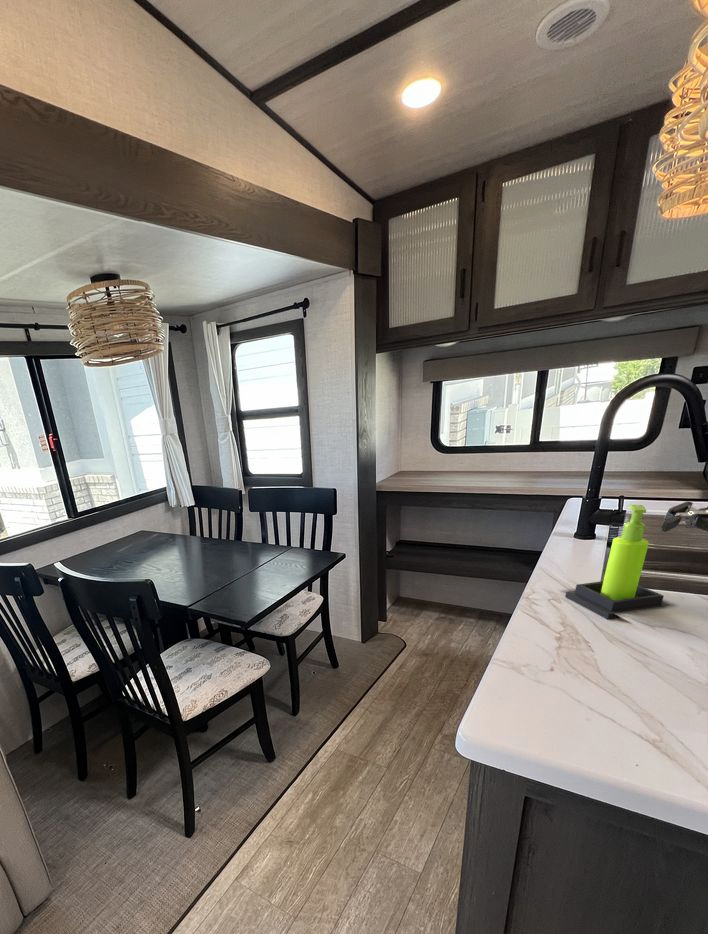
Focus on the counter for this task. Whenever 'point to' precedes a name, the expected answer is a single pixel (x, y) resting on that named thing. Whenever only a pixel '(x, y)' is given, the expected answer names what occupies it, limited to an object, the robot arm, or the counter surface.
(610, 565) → the soap dispenser
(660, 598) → the black square tray
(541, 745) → the counter surface
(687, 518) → the robot arm
